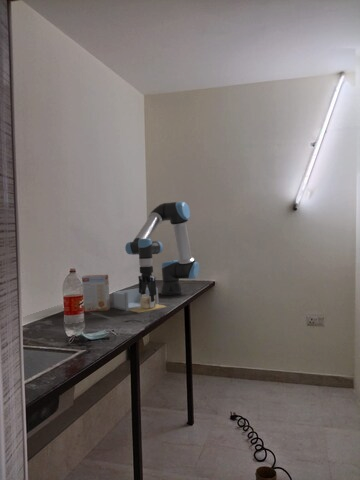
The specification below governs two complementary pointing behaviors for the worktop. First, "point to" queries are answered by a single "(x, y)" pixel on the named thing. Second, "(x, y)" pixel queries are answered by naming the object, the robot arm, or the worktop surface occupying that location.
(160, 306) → the panel
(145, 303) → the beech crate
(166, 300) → the worktop surface
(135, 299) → the pale blue open box
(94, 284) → the cracker box
